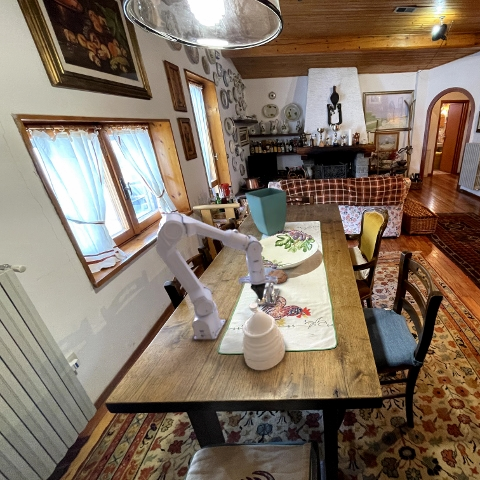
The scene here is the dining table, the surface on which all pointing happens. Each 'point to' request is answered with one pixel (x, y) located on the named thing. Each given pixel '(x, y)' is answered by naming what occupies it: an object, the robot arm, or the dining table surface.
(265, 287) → the tap lever
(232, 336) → the dining table surface
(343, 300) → the dining table surface
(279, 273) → the cookie
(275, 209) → the flower pot
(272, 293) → the bracket
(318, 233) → the dining table surface
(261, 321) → the honey pot
